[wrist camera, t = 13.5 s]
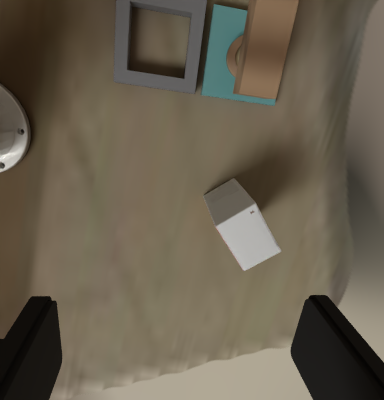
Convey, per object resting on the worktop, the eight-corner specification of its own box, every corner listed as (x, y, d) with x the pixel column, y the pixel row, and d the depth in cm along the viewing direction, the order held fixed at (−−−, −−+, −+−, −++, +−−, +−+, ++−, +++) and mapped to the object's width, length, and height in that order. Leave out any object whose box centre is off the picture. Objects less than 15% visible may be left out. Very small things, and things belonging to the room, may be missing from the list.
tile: (200, 94, 36) (201, 94, 35) (212, 6, 32) (214, 4, 31) (271, 105, 37) (274, 105, 36) (290, 21, 34) (294, 19, 33)
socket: (116, 82, 34) (113, 81, 32) (119, -12, 31) (116, -19, 29) (193, 93, 36) (194, 93, 34) (204, 5, 32) (206, -1, 30)
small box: (202, 194, 41) (213, 225, 31) (234, 176, 40) (256, 201, 31) (226, 234, 44) (243, 273, 34) (256, 217, 43) (282, 252, 33)
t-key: (233, 13, 32) (253, -13, 24) (273, 21, 33) (304, -2, 25) (220, 93, 35) (234, 92, 28) (256, 99, 36) (280, 99, 28)
